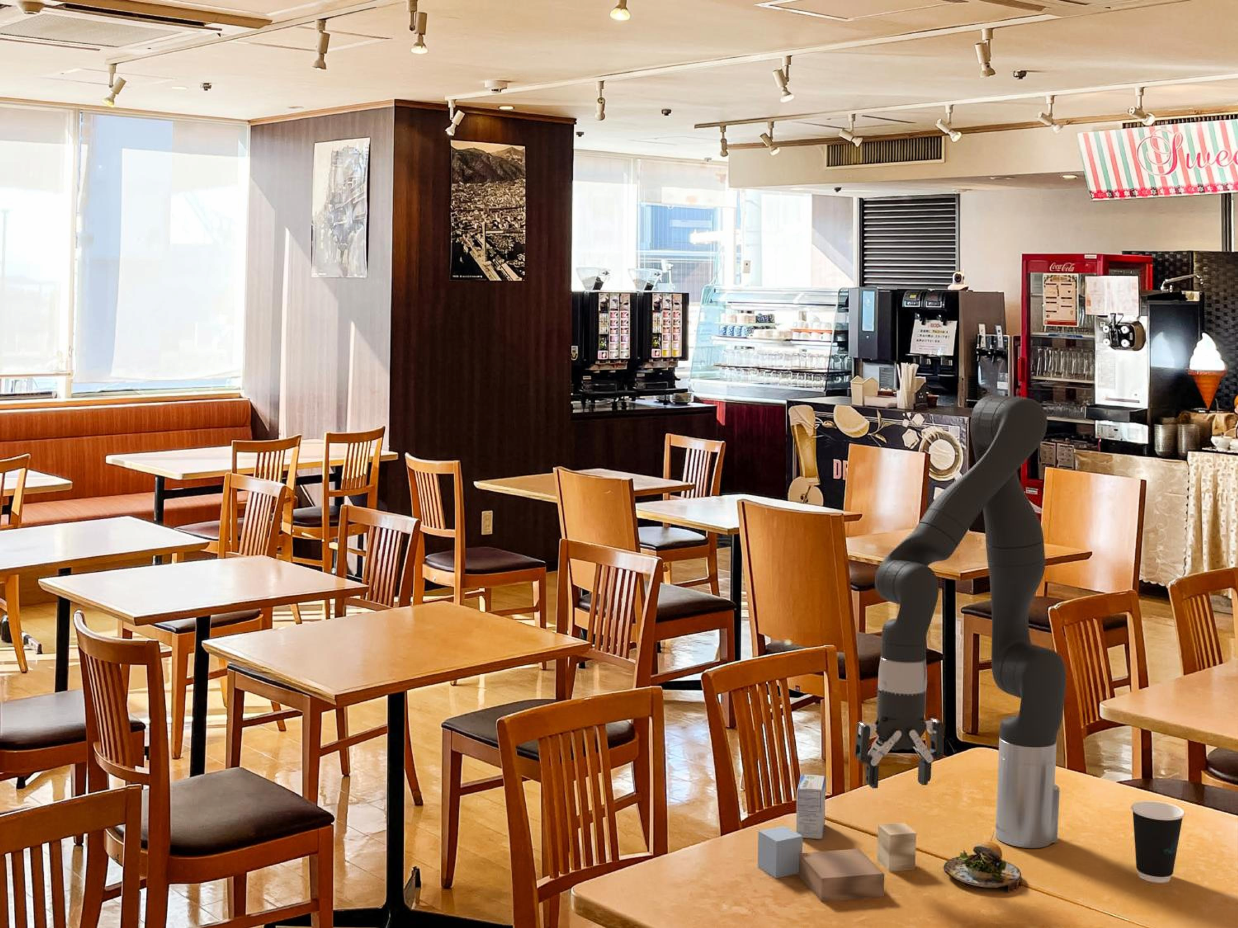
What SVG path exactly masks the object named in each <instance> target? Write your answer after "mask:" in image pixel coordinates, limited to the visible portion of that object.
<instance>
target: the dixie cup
mask: <svg viewBox="0 0 1238 928" xmlns="http://www.w3.org/2000/svg"><path fill="white" fill-rule="evenodd" d="M1130 810H1131V811H1132V819H1133V833H1134V834H1133V835H1134V851H1135V852H1134V853H1135V866H1136V870H1137V875H1138V877H1139V878H1141V879H1142V880H1144V881H1147V882H1150V883H1158V884H1160V883H1161V884H1162V883H1163V884H1164V883H1168V882H1170V881H1171V878H1172V875H1173V874H1174V869H1175V863H1176V859H1177V853H1178V847H1179V840H1180V835H1181V830H1182V823H1183V818H1184V817H1185V815H1186V812H1185V811H1184V810H1183V808H1181V807H1180V806H1177V805H1174V804H1171V803H1168V802H1165V801H1164V802H1163V801H1156V800H1140V801H1136V802H1135V801H1134V802H1133V803H1132V804H1131V806H1130Z"/></svg>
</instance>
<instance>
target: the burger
mask: <svg viewBox="0 0 1238 928" xmlns="http://www.w3.org/2000/svg"><path fill="white" fill-rule="evenodd" d="M994 833H995V831H993V833H992V836H991V840H986V841H981V842H978V843H976V844H975V845H974V846H973V850H972V851H973V853H974V854H970V855H969V854H968V853H967V852H966V851H965V849H963V850H962V851H963V852H959V854H960V855H959V856H955V857H952V858H950V859H949V860H946V862H945V863H944V865H943V871H944V872H947V873H948V874H949V875H950V876H952V878H954V879H956V880H957V881H960V882H962V883H965V884H968V885H971V886H975V887H981V888H994V889H995V888H997V889H998V888H1002V887H1006V886H1008V887H1007V892H1008V893H1010V892H1013V893H1014V892H1015V890H1018V889H1019V888H1018V886H1019V885H1020V886H1022V883H1023V882H1022V872H1021V870H1020V869H1019V868H1018V867H1017V866H1016V865H1014V864H1012V863H1011V862H1008V861H1007V860H1005V859H1004V860H1003V859H1002V858H1003V852H1002V851H1003V850H1002V848H1001V847H1000V846H999V844H996V843H995V842H993V837H994Z"/></svg>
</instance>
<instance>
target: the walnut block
mask: <svg viewBox="0 0 1238 928" xmlns="http://www.w3.org/2000/svg"><path fill="white" fill-rule="evenodd" d="M798 877H799V878H800V879H801V880H802V882H804V883H805V884H806V886H807V887H808V889H809V890H810V891H811V892H812V894H814V896H816V897H817V899H818V900H819V901H820V902H823V903H824V902H832V901H833V902H834V901H847V900H857V899H859V900H861V899H870V898H883V897H885V895H884V894H885V893H884V892H885V891H884V890H885V873H884V872H883V870H882V869H880V867H878V866H877V864H875V863H874V861H872V859H870V857H868V856H867V855H866V854H865V853H864V852H863V851H862V850H861V849H860V848H852V849H850V848H849V849H840V850H839V849H837V850H825V851H824V850H823V851H811V852H810V851H809V852H802V853H799V873H798Z"/></svg>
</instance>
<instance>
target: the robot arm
mask: <svg viewBox="0 0 1238 928" xmlns="http://www.w3.org/2000/svg"><path fill="white" fill-rule="evenodd" d="M969 428H970V437H971V443H972V449H973V453H974V459H975V462H976V463H975V464H974V465H973V466H972V467H971V468H970V469H969V470H968V471H966V472H965V473H963V475H961V476H960V477H959V478H958V479H956V480H955V481H953V482H952V483H951V484H950V485H948V486H947V487H945V489H944V490H942V491H941V493H940V494H939V495H937V497H935V499H934V500H933V501H932V503H931V504H930V505H929V507H928V508H927V510H926V512H925V513H924V514H923V516H922V518H921V519H920V520H919V522H918V524H917V525H916V527H915V528H914V530H913V531H912V532H911V533H910V534H909V535H907V536H906V537H905V538H904V539H903V540H901V542H900V543H899V544H897V545H896V547H895V548H893V549H892V550H891V552H888V554H887V555H886V557H884V559H883V560H882V562H881V563H880V564H879V566H878V569H877V570H876V574H875V577H874V588H875V590H876V593H877V594H878V595H879V597H881V598H882V599H883V600H885V601H887V602H891V603H893V604H897V605H899V609H898V612H897V616H896V618H891V619H888V620H886V621H885V622H884V623H883V626H882V630H881V636H880V637H881V640H880V644H881V645H880V659H879V666H878V673H877V674H878V676H877V678H878V679H877V697H876V698H877V699H876V700H877V701H876V702H877V703H876V715H877V716H876V720H875V722H874V723H865V722H864V721H859V722H857V724H856V733H855V747H854V754H853V755H854V757H855V758H856V759H857V760H859V761H860V762H861V763H862V764H863V763H865V782H866V783H867V784H868V786H869V787H870V788H871V789H878V788H879V776H880V775H879V774H880V771H879V770H880V766H879V765H878V764H879V762H881V760H882V759H883V757H884V756H887V754H888V753H889V752H890V750H892V751H900V750H909V751H911V750H912V749H914V750H915V752H916V753H917V755H918V756H919V757H920V758H919V759H918V762H917V763H918V764H917V765H918V766H917V767H918V768H917V782H918V784H920V785H922V786H928V784H929V782H930V781H931V779H932V764H933V761H934V760H937V759H942V758H944V756H945V753H944V752H945V751H944V749H945V748H944V747H945V745H944V742H945V741H944V740H945V739H944V724H943V722H942V721H940V720H939V719H938V718H936V717H931V718H930V719H929V720H925V715H926V706H927V705H926V703H927V702H926V701H927V699H926V698H927V685H928V680H927V678H928V677H927V676H928V674H927V673H928V671H927V647H928V645H927V644H928V643H927V639H928V637H927V636H928V632H929V629H930V627H931V623H932V620H933V617H934V616H933V615H934V614H935V610H936V606H937V603H938V600H939V591H940V590H939V589H940V587H939V580H938V578H937V574H936V573H935V571H934V570H933V569H932V568H930V565H931V564H933V563H935V562H943V561H946V560H948V559H950V557H951V556H952V555H953V554H954V552H955V551H956V550H957V548H958V546H959V545H960V543H961V542H962V541H963V539H964V537H965V535H966V534H967V533H968V531H969V530H970V528H971V526H972V525H973V524H974V522H975V520H976V519H977V518H978V516H979V515H980V514H981V512H982V513H983V519H984V520H983V521H984V528H985V529H984V530H985V533H984V534H985V549H986V560H987V568H988V574H989V588H990V605H991V652H990V653H991V655H990V656H991V659H990V661H991V674H992V677H993V678H992V679H993V681H994V683H995V684H996V687H998V689H1000V690H1001V691H1002V692H1004V693H1005V694H1008V695H1011V696H1013V697H1016V698H1018V699H1020V703H1019V711H1018V715H1011V716H1007V717H1005V718H1003V719H1002V720H1001V721H1000V724H999V740H998V742H999V743H998V761H997V763H998V764H997V787H996V789H997V791H996V812H995V814H996V815H995V816H996V817H995V818H996V819H995V837H996V839H997V840H998V841H1000V842H1002V843H1004V844H1007V845H1010V846H1014V847H1019V848H1026V849H1027V848H1028V849H1038V848H1044V847H1048V846H1050V845H1051V844H1054V843H1058V839H1059V838H1058V834H1059V832H1058V831H1059V816H1060V815H1059V814H1060V813H1059V812H1060V810H1059V809H1060V792H1061V789H1060V786H1059V785H1057V784H1056V763H1057V762H1056V761H1057V739H1058V733H1059V730H1060V728H1061V725H1062V721H1063V717H1064V707H1065V698H1066V697H1065V696H1066V687H1067V686H1066V685H1067V669H1066V666H1065V661H1064V660H1063V658H1062V656H1061V655H1060V654H1059V653H1058V652H1056V651H1055V650H1052V649H1049V648H1048V647H1047V648H1046V647H1043V646H1040V645H1036V644H1034V643H1032V642H1031V641H1032V640H1031V636H1030V627H1029V614H1030V613H1029V611H1030V607H1031V604H1032V601H1033V599H1034V597H1035V595H1036V593H1037V591H1038V589H1039V587H1040V585H1041V582H1042V580H1043V577H1044V576H1045V575H1044V574H1045V570H1046V554H1045V541H1044V538H1045V537H1044V530H1043V527H1042V524H1041V521H1040V519H1039V516H1038V515H1037V513H1036V511H1035V509H1034V507H1033V505H1032V503H1031V502H1030V500H1029V497H1028V496H1027V494H1026V493H1025V490H1024V489H1023V486H1022V484H1021V481H1020V479H1019V476H1018V470H1019V468H1021V466H1022V465H1023V464H1024V463H1025V462H1026V461H1027V460H1028V459H1029V458H1030V457H1031V456H1032V455H1033V453H1034V452H1036V450H1037V449H1038V447H1039V445H1040V444H1041V443H1042V441H1043V440H1044V437H1045V435H1046V432H1047V428H1048V418H1047V414H1046V411H1045V408H1044V407H1043V405H1041V404H1040V403H1039V402H1038V401H1036V400H1035V399H1033V398H1028V397H1023V396H1011V395H997V394H995V395H994V394H992V395H986V396H984V397H982V398H981V399H979V400H978V401H977V403H976V404H975V405H974V407H973V409H972V412H971V417H970V427H969ZM926 731H927V732H928V733H929V749H928V747H927V745H926V744H925V743H924V741H923V740H922V738H921V737H922V736H923V735H924V733H925V732H926ZM874 732H875V733H876V735H877V737H876V738H875V739H874V741H873V742H872V744H871V748H869V747H870V738H872V737H873V734H874Z"/></svg>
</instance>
